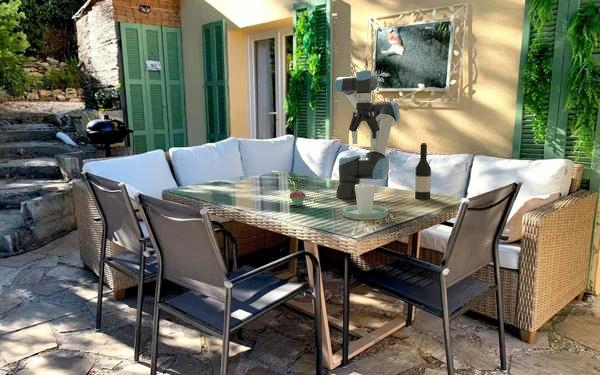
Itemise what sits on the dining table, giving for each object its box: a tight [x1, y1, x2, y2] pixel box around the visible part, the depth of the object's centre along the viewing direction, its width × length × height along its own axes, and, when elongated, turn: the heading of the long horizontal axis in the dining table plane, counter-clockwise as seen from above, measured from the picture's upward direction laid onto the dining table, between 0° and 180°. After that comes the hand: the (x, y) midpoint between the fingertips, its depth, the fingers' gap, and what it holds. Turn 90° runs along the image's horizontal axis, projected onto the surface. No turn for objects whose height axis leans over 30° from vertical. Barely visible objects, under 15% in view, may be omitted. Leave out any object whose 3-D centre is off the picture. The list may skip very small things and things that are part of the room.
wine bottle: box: [414, 142, 432, 201], centre depth 242 cm, size 8×8×30 cm
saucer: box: [342, 204, 389, 221], centre depth 209 cm, size 20×20×2 cm
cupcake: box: [289, 182, 307, 206], centre depth 235 cm, size 9×8×12 cm
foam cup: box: [355, 183, 376, 214], centre depth 208 cm, size 10×9×13 cm
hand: (363, 144), depth 228 cm, fingers open, 13 cm apart
